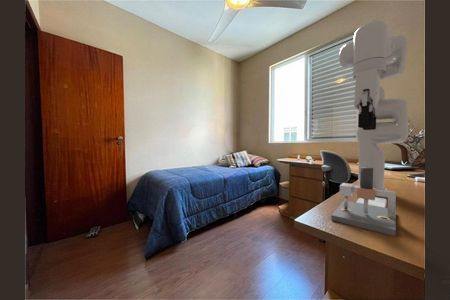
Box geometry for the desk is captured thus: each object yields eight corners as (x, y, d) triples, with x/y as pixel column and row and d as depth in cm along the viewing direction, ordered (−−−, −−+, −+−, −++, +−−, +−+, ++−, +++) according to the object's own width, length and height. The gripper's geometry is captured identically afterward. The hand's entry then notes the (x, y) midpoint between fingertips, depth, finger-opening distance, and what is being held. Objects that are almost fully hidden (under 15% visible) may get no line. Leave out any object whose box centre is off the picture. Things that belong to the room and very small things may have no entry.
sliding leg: (358, 209, 57) (359, 166, 56) (374, 213, 54) (375, 167, 53) (356, 212, 54) (357, 167, 54) (374, 216, 52) (375, 169, 51)
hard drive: (360, 194, 75) (355, 202, 66) (387, 198, 70) (385, 207, 61) (360, 198, 75) (355, 206, 67) (387, 203, 70) (385, 212, 61)
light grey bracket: (342, 206, 61) (342, 182, 61) (395, 216, 52) (395, 189, 52) (339, 210, 58) (339, 185, 57) (395, 222, 49) (395, 192, 48)
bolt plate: (343, 204, 67) (343, 200, 67) (395, 214, 58) (395, 209, 58) (331, 220, 54) (331, 214, 54) (395, 236, 45) (395, 229, 45)
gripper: (357, 80, 62) (356, 131, 62) (347, 64, 49) (346, 127, 50) (387, 74, 56) (385, 129, 57) (384, 54, 44) (382, 125, 44)
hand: (367, 128), depth 53 cm, fingers open, 9 cm apart
